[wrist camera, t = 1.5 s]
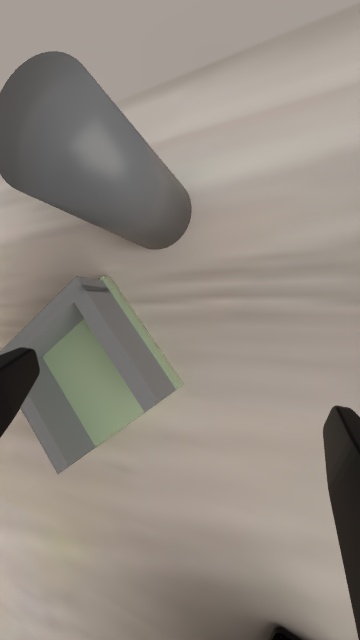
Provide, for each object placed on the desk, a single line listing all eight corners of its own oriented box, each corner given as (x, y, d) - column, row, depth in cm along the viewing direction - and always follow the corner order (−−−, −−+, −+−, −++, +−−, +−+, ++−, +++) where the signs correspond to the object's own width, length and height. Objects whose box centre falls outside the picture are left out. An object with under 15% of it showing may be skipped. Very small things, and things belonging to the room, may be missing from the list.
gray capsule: (200, 232, 21) (114, 152, 10) (137, 259, 22) (8, 215, 12) (178, 164, 21) (74, 21, 11) (118, 196, 23) (-23, 101, 12)
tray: (183, 384, 21) (161, 400, 18) (91, 450, 24) (55, 475, 20) (110, 277, 23) (75, 270, 19) (32, 349, 26) (-10, 356, 22)
